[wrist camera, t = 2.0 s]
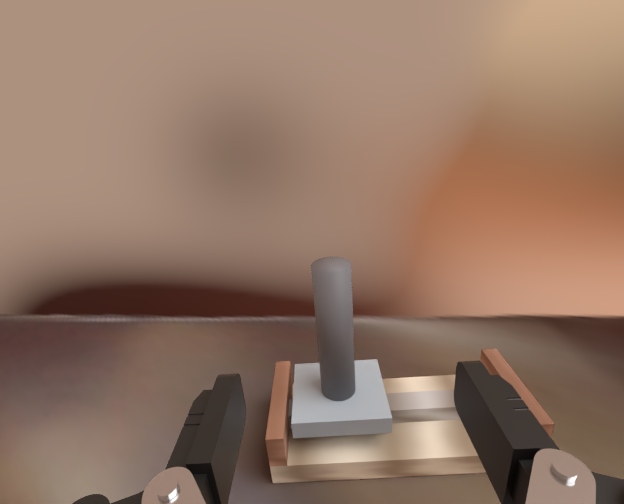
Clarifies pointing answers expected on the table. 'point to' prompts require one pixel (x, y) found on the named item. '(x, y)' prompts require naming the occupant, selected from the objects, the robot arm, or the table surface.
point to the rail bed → (387, 446)
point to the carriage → (337, 367)
